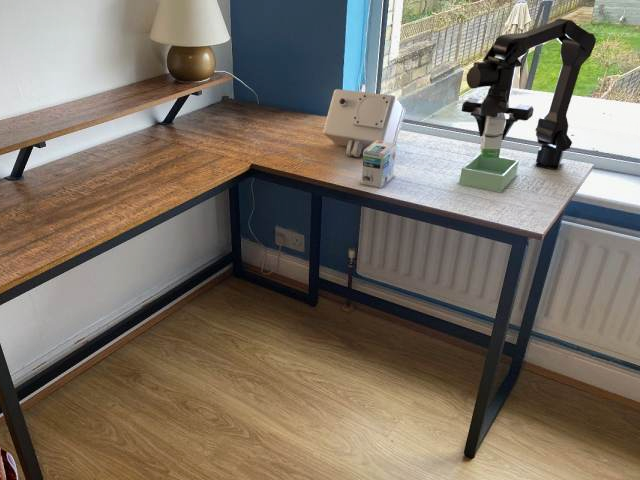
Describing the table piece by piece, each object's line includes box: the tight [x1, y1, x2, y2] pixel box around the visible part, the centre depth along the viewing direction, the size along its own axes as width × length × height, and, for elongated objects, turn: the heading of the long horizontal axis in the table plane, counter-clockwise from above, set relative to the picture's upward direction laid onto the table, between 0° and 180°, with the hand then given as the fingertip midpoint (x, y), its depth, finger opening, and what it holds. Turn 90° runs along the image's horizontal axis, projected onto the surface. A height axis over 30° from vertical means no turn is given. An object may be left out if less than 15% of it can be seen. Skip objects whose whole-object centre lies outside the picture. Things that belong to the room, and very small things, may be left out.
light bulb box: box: [361, 140, 397, 189], centre depth 181 cm, size 11×7×11 cm, turn 148°
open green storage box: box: [458, 152, 520, 193], centre depth 180 cm, size 12×15×5 cm
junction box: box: [322, 88, 406, 158], centre depth 202 cm, size 24×15×22 cm
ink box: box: [480, 113, 507, 158], centre depth 176 cm, size 9×5×12 cm, turn 165°
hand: (491, 138), depth 176 cm, fingers closed on ink box, 6 cm apart
